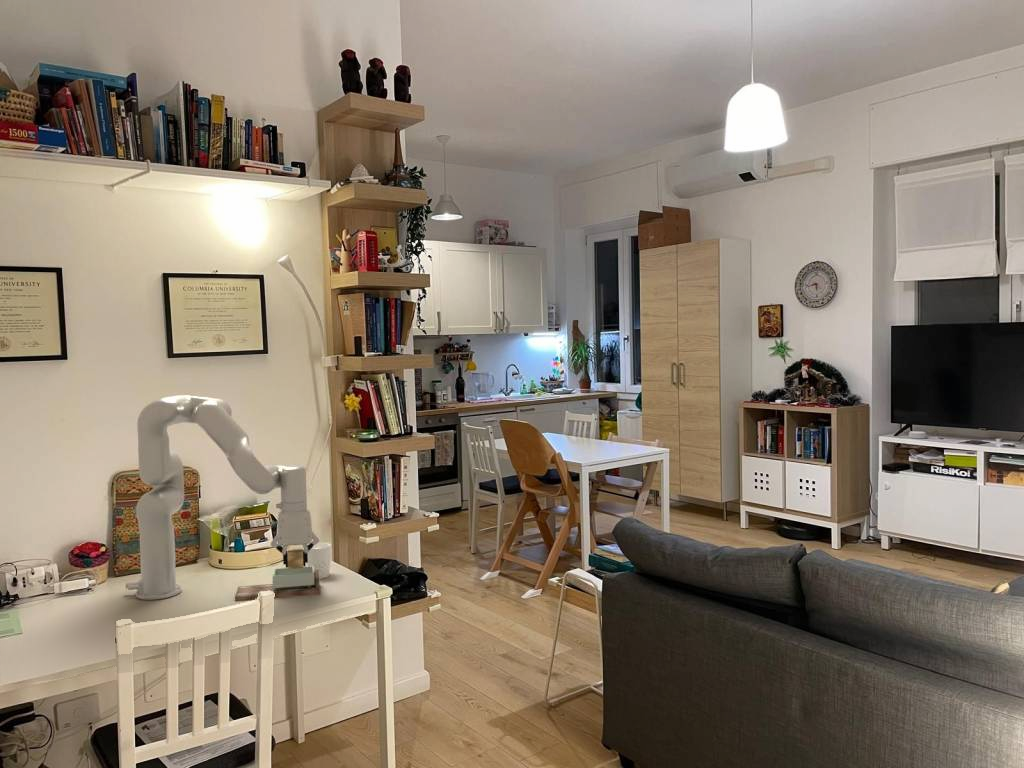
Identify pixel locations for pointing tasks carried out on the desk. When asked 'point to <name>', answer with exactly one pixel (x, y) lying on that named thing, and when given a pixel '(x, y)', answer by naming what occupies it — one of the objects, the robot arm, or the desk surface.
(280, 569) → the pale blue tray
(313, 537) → the robot arm
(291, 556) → the block
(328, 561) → the white cup
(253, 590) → the rail
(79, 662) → the desk surface
